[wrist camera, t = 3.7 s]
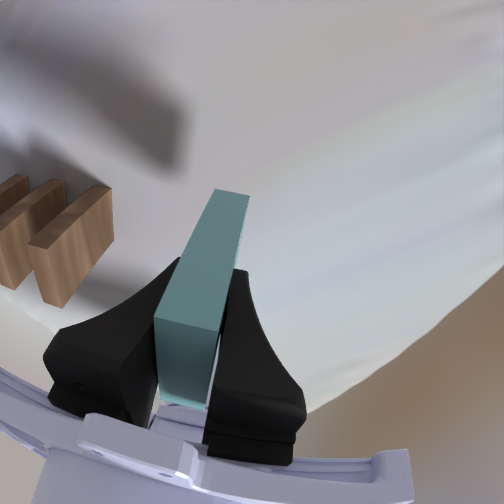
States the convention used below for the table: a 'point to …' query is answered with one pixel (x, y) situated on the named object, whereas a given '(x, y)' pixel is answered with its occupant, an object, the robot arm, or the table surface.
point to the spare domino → (198, 302)
